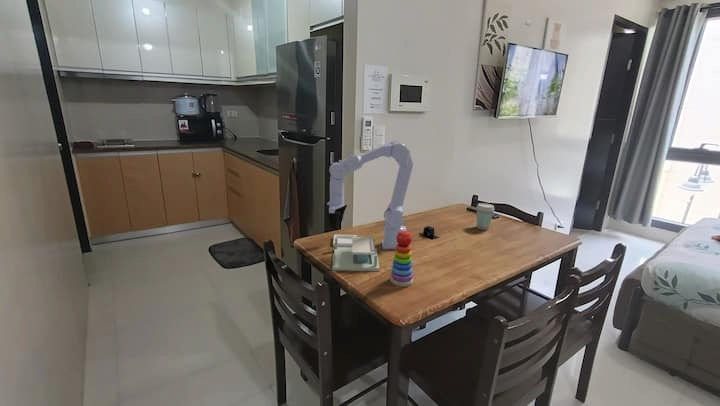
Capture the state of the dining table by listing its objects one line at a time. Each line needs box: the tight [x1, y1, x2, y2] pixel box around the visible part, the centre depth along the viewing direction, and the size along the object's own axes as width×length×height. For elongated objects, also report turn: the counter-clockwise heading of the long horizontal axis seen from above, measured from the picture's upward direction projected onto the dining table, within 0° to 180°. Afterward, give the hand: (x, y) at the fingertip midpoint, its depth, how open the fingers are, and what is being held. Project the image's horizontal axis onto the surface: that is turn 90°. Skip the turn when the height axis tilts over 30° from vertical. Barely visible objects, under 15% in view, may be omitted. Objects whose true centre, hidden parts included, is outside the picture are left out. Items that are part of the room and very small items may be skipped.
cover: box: [352, 236, 375, 255], centre depth 129 cm, size 8×15×1 cm, turn 1°
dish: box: [332, 234, 358, 248], centre depth 147 cm, size 10×10×2 cm
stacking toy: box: [389, 230, 414, 288], centre depth 113 cm, size 8×8×19 cm
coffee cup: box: [476, 202, 495, 231], centre depth 169 cm, size 8×8×12 cm
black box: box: [417, 225, 440, 241], centre depth 158 cm, size 12×7×5 cm, turn 37°
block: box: [357, 254, 368, 262], centre depth 130 cm, size 4×4×4 cm
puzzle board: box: [331, 238, 381, 272], centre depth 130 cm, size 17×18×6 cm
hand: (336, 224), depth 140 cm, fingers open, 7 cm apart
